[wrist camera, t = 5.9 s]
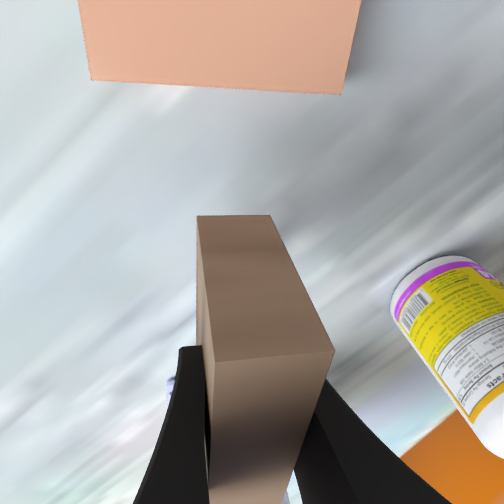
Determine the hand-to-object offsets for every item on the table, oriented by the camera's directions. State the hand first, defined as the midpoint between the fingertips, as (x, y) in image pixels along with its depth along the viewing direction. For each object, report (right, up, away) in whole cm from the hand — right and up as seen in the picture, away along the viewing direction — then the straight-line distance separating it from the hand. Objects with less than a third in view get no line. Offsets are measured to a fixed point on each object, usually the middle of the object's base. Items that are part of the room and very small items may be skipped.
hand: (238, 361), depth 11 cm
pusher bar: (0, +1, +2) cm, 3 cm away
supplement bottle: (+13, +1, +13) cm, 18 cm away
